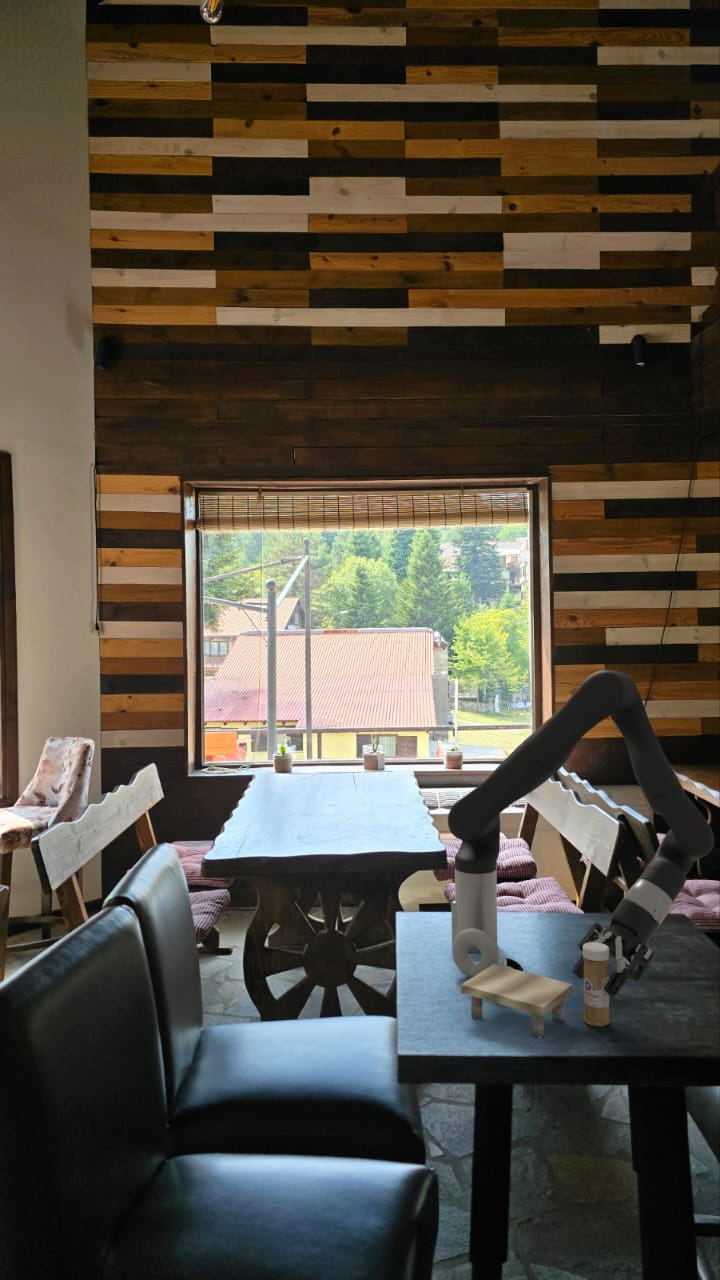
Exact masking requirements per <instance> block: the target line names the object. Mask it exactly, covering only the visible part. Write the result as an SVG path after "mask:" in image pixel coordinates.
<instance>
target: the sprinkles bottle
mask: <svg viewBox="0 0 720 1280" xmlns="http://www.w3.org/2000/svg"><path fill="white" fill-rule="evenodd" d="M583 958H584V977H583V1017H582V1019H583V1021H584V1022H585V1023H586V1024H588V1025H590V1026H594V1027H605V1026H607V1025H609V1023H610V1021H611V1020H610V996H609V995H608V994H607V993H606V992H605V991H604V987H605V985H606V984H607V982H608V981H609V979H610V973H609V961H610V957H609V947H608V946H607V945H605V944H602V943H597V942H590V941H589V942H588V943H585V944H584V945H583Z"/></svg>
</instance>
